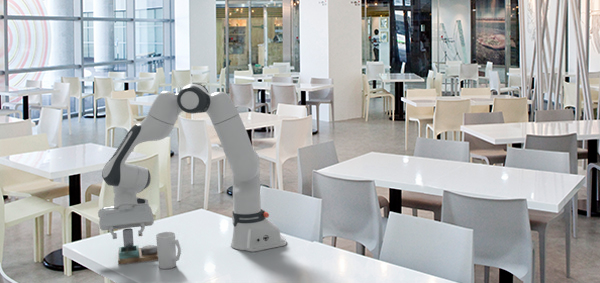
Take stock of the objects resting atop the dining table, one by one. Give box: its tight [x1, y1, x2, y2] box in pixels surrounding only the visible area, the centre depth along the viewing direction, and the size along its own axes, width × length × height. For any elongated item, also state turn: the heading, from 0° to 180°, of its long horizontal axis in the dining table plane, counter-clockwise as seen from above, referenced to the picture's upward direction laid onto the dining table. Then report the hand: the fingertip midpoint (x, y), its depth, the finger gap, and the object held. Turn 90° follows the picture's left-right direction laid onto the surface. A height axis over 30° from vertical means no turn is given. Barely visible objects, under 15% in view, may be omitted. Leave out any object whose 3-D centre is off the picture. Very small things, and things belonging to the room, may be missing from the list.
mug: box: [155, 231, 182, 270], centre depth 208 cm, size 10×7×12 cm, turn 60°
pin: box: [122, 228, 135, 252], centre depth 217 cm, size 4×4×10 cm
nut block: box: [117, 244, 158, 265], centre depth 219 cm, size 15×12×4 cm
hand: (127, 236), depth 217 cm, fingers open, 8 cm apart
